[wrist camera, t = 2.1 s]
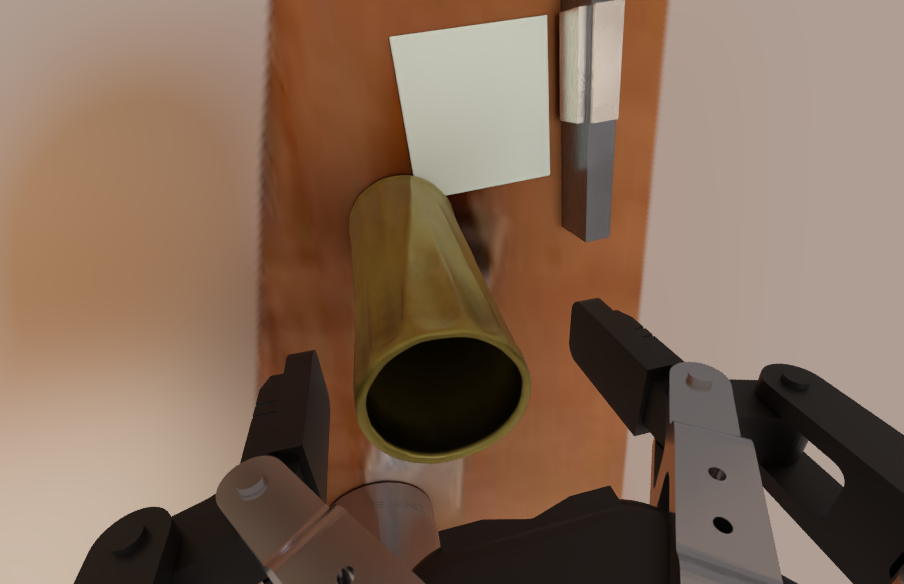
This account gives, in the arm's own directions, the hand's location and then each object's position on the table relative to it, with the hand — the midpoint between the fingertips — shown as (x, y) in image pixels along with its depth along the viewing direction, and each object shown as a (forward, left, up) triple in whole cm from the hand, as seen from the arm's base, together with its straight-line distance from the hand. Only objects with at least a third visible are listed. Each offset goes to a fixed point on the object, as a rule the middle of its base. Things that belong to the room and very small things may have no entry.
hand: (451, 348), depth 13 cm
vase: (0, 0, -13) cm, 13 cm away
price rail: (+10, -6, -13) cm, 18 cm away
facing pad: (+7, -1, -13) cm, 15 cm away
